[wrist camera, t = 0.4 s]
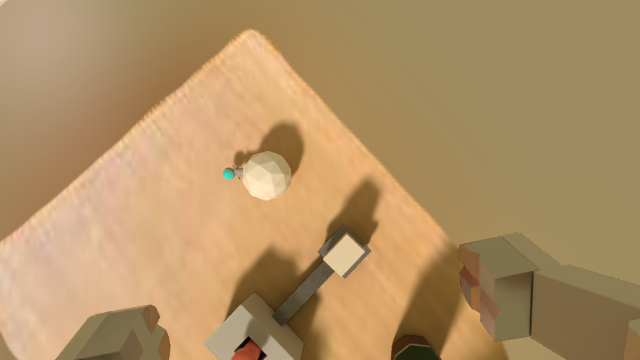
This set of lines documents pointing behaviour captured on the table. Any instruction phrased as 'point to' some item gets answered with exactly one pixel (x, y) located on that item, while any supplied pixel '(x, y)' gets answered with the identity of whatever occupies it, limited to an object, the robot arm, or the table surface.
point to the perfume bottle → (263, 175)
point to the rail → (303, 292)
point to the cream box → (344, 251)
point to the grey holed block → (255, 333)
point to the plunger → (248, 352)
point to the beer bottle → (413, 349)
